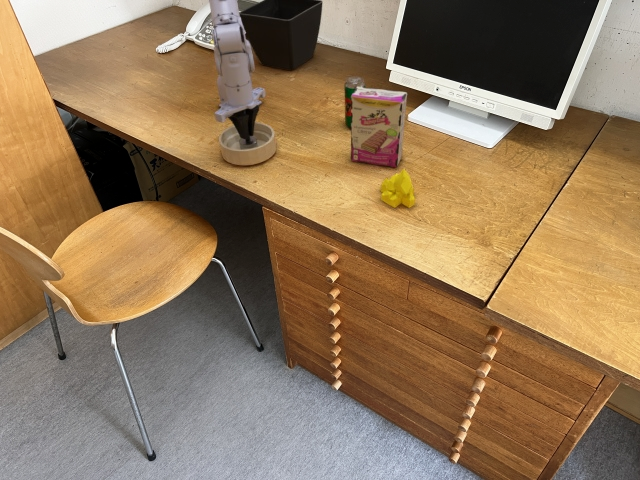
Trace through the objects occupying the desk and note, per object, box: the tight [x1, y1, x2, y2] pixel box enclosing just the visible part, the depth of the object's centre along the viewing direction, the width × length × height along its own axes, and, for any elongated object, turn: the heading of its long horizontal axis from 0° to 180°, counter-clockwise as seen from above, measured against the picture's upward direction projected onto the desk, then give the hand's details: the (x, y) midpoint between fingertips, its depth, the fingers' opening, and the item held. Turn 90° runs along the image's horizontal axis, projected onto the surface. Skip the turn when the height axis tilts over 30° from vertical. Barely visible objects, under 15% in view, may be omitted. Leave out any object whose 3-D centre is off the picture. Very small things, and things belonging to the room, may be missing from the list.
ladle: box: [239, 109, 258, 150], centre depth 111 cm, size 4×4×11 cm
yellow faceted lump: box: [380, 168, 416, 209], centre depth 97 cm, size 6×8×8 cm
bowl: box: [218, 121, 277, 166], centre depth 114 cm, size 13×13×4 cm
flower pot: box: [239, 0, 323, 71], centre depth 149 cm, size 19×19×17 cm
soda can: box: [343, 76, 366, 129], centre depth 119 cm, size 5×5×12 cm
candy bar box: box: [350, 87, 408, 168], centre depth 105 cm, size 11×5×16 cm, turn 71°
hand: (246, 136), depth 113 cm, fingers closed on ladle
